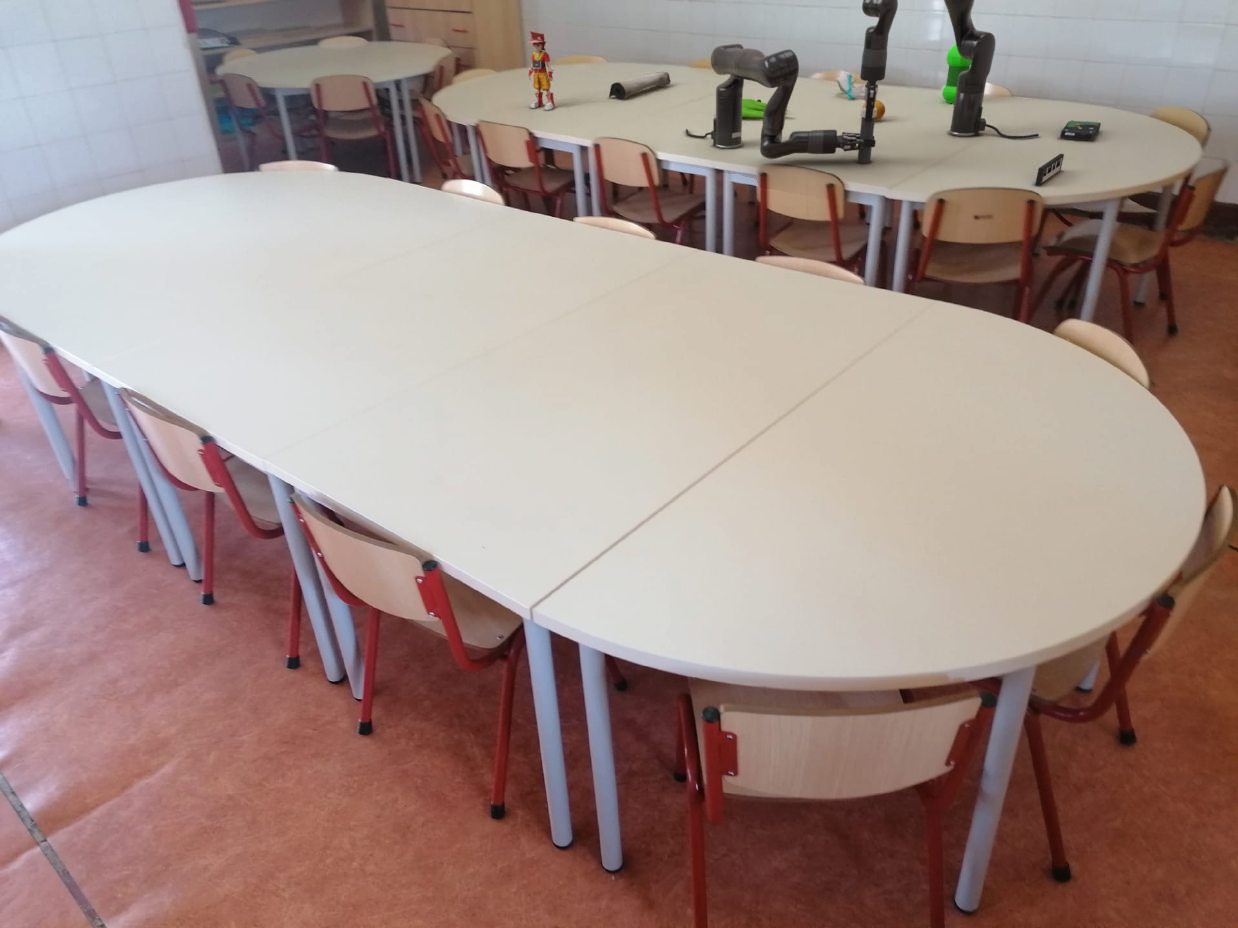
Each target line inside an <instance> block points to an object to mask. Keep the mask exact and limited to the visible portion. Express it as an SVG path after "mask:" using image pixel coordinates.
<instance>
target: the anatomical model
mask: <svg viewBox="0 0 1238 928" xmlns="http://www.w3.org/2000/svg"><path fill="white" fill-rule="evenodd" d="M852 78H853V75H852V73H850V71H847V70H846V71H845V72H844V74H843V75H841V76H838V77H837V78H836V83H837V85H838V87H839V90H840V91H841V92H842V93H846V95H847V98H849V100H855V99H858V98H859V99H860V98H864V99H865V93H863V92H862V89H863V87H865V84H860V85H858V86H856V87H855V86H854V84H855V82H856V81H857V79H856V78H854V79H852Z"/></svg>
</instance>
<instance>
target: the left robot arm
mask: <svg viewBox="0 0 1238 928" xmlns="http://www.w3.org/2000/svg"><path fill="white" fill-rule="evenodd" d="M710 67H711V68H712V70H713V71H714V73H715V74H716V75H719V76H725V75H727V76H728V75H729V77H728V78H727V79H726V80H725V81H723V82H721V83H720V84H718V85H717V86H716V88H715V117H714V118H713V121H712V123H713V127H712V128H713V129H712V130H711V131H710V132H706V133H705V134H704V135H698V134H694V133H693V134H692V133H689V129H688V128H686V129H685V134H686V135H687V136H689V137H692V138H696V139H704V138H707V136H710V139H711V140H712V141H713V143H712V145H713V147H715V148H720V149H735V148H739V147H742V145H743V142H742V139H743V138H742V136H743V135H742V133H743V130H742V129H743V117H742V99H743V95H744V94H743V91H744V84H745V80H746V81H750V82H753V83H754V82H755V83H757V84H759V85H761V86H763V87H765V88H767V89H774V88H776V89H775V91H774V92H773V94H772V95H771V97H770V98H769V100H768V101H767V102H766V104H767V105H766V107H765V110H763V111H764V116H763V118H762V127H761V131H760V147H759V151H760V155H761V156H762V157H763V158H765V159H769V160H777V159H780V158H783V157H787V156H790V155H793V154H794V155H795V154H809V155H834V154H836V152H837V149H841V150H843V152H851V151H858V150H861V149H862V148H863V147H872V148H875V147H876V144H877V143H876V139H875V135H873V140H860V132H846V131H845V132H843V131H842V133H841V134H840V135H839V134H838V131H837V129H812V130H795V131H792V132H791V133H790V134H789V137H788V139H787V140H782V139H783V130H784V127H785V121H786V118H785V116H786V115H787V111H786V110H788V106H789V103H790V100H791V97H792V94H793V92H794V90H795V89H794V88H795V86H796V83H797V80H798V77H799V73H800V72H799V71H800V63H799V59H798V56H797V55H796V53H795V51H794V50H792V49H790V48H789V49H783V50H780V51H777V52H774V53H771V54H769V55H765V54H764V52H762V51H761V50H759V49H756V48H745V47H744V46H743V45H742V44H741V43H733V44H723V45H719V46H716V47H715V48H714V49H713V50H712V52H711V55H710Z"/></svg>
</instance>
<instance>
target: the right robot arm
mask: <svg viewBox="0 0 1238 928" xmlns="http://www.w3.org/2000/svg"><path fill="white" fill-rule="evenodd" d="M943 2H944V4H945V7H946V9H947V13H948V16H949V19H950V22H951V23H950V24H951V26H952V29H953V35H954V39H955V45H957V50H958V53H959V55H960V56H961V57H962V58H964V59H967V60H972V63H971V65H970V68H969V70H967V71H963V72H961V73H960V74H959V77H958V83H957V90H956V96H955V103H953V110H952V115H951V124H950V129H949V134H950V135H952V136H956V137H973V136H979V132H985V131H986V128H989V129H993V130H994V131H995V132H996V134H997V135H999V136H1000V137H1001V138H1006V139H1029V138H1030V139H1031V138H1037V137H1039V135H1040V134H1039V133H1034V134H1027V135H1009V134H1004V133H1002V132H1001V131H1000V130H999V129H998V127H996V126H994V125H991V124H988V123H987V120H986V118H985V117H983V118H982V115H983V109H984V107H983V102H984V96H985V90H986V83H987V79H988V77H989V74H990V73H991V69H992V64H993V59H994V55H995V50H996V44H997V43H996V37H995V35H994V34H993V33H992V32H989V31H984V30H977V29H976V27H975V25H974V22H973V18H972V10H973V7H974V3H975V0H943ZM898 7H899V1H898V0H862V4H861V9H862V13H863V14H864V15H865V16H866V17H870V18H878V21H877V23H876V25H871V26H868V27H867V28H866V29H865V33H864V42H863V43H864V44H863V50H862V56H861V65H860V75H859V79H860V80H862V81H865V82H866V83H865V84H864V94H865V98H864V104H865V105H866V106H865V109H866V114H865V122H871V121H872V116H873V110H874V108H875V106H874V105H875V101H876V100H877V94H878V91H879V84H877V82H880V81H883V80H884V79H885V78H886V71H887V70H886V69H887V62H888V61H887V60H888V44H889V34H890V31H891V28H892V25H893V22H894V19H895V17H896V14H897V11H898Z"/></svg>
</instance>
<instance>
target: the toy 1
mask: <svg viewBox="0 0 1238 928" xmlns="http://www.w3.org/2000/svg"><path fill="white" fill-rule="evenodd" d="M529 33H530V35H531V36H528V37H527V38H528V39H529V40H528V41H527V43H529V44H530V43H531V44H532V48H533V50H534V51H533V52H532V55H531V58H530V59H531V63H530V66H528V74H527V75H528V76H527V77H528V79H529V80H531V75H532V74H533V84H532V85H533V86H532V87H533V88H534V89H535V90H536V92H534V95H535V97H536V100H535V101H533V102H531V105H530V108H531V109H535V108H538V107H542V106H544V101H543V100H544V99H543V95H544V92H546V94H545V97H546V99H547V103H546V104H545V106H544V110H546V111H549V110H553V109H554V107H555V106H556V105H555V99H554V92H551V91H550V90H551V86H552V84H551V82H552V81H553V80H554V77H553V73H554V71H555V70H554V69H552V68H551V63H550V61H551V59H550V58H551V57H550V54H549V53H548V52H547V50H546V48H545V46H546V44H547V41H545V35H544V33H543V32H542V33H539V32H535V31H529Z"/></svg>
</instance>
